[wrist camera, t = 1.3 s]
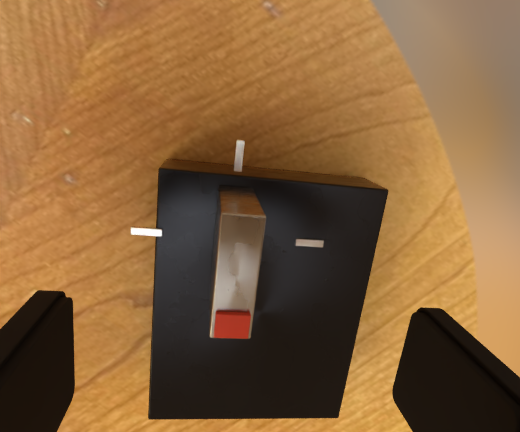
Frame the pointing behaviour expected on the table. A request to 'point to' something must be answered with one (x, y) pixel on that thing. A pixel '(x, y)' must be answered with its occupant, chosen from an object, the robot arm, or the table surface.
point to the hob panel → (260, 293)
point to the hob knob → (235, 262)
